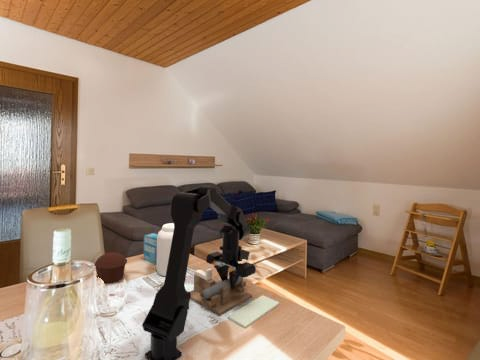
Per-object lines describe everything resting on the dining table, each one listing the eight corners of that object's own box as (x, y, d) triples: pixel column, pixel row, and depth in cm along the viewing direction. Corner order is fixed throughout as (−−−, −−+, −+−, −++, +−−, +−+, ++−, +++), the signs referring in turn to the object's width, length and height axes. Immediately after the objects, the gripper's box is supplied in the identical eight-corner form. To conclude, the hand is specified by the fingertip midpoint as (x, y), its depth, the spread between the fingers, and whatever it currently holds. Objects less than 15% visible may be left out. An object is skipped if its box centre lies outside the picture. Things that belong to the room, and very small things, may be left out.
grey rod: (244, 283, 97) (245, 274, 97) (207, 301, 84) (207, 292, 84) (238, 280, 100) (238, 272, 99) (200, 298, 86) (201, 288, 86)
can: (171, 280, 105) (172, 230, 103) (150, 272, 112) (150, 225, 110) (192, 269, 116) (194, 224, 114) (172, 262, 122) (172, 219, 121)
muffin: (87, 282, 101) (87, 256, 100) (110, 270, 111) (110, 247, 111) (112, 287, 97) (112, 261, 96) (133, 275, 108) (133, 251, 107)
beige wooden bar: (212, 278, 93) (212, 269, 92) (207, 280, 91) (207, 270, 91) (199, 272, 97) (199, 263, 97) (194, 274, 95) (194, 265, 95)
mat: (279, 304, 90) (279, 302, 90) (245, 328, 76) (245, 326, 76) (262, 296, 95) (262, 295, 95) (227, 318, 81) (227, 316, 81)
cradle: (252, 297, 94) (252, 279, 94) (219, 316, 82) (219, 296, 81) (218, 281, 105) (219, 265, 105) (184, 296, 93) (185, 278, 92)
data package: (143, 259, 125) (143, 234, 124) (151, 256, 129) (151, 232, 128) (161, 265, 118) (161, 239, 118) (168, 262, 122) (169, 237, 121)
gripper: (266, 245, 92) (264, 288, 93) (227, 233, 105) (226, 272, 106) (245, 252, 84) (243, 300, 85) (205, 239, 96) (204, 281, 97)
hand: (229, 287), depth 94 cm, fingers closed on grey rod, 3 cm apart
